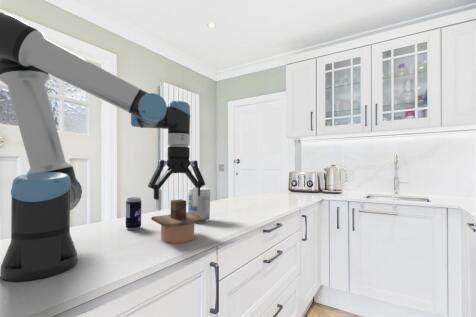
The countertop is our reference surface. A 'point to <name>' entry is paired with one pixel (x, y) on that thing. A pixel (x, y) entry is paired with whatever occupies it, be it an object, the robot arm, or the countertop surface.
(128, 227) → the beverage can
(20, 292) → the countertop surface
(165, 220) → the walnut lid
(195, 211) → the supplement tub
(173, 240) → the terracotta bowl
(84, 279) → the countertop surface
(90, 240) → the countertop surface
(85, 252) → the countertop surface
